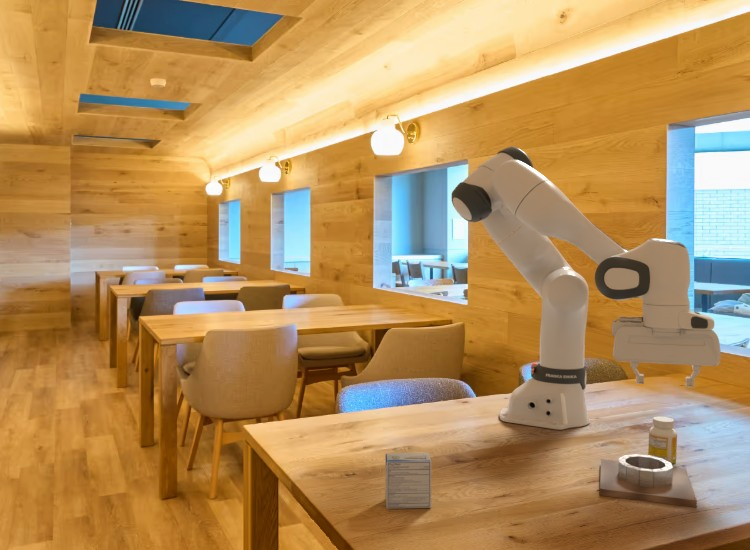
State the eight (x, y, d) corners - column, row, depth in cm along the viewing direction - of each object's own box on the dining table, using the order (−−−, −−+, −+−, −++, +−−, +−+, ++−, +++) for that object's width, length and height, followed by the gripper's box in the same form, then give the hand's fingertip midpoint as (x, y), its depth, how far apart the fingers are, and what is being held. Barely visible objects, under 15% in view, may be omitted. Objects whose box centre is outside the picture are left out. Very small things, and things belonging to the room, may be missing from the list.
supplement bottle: (656, 469, 134) (657, 422, 134) (643, 460, 140) (644, 415, 139) (681, 468, 135) (682, 422, 134) (667, 459, 140) (668, 415, 139)
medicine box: (428, 499, 119) (429, 451, 119) (431, 509, 115) (432, 460, 114) (385, 499, 119) (385, 452, 118) (386, 509, 114) (386, 460, 114)
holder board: (600, 495, 121) (600, 472, 121) (600, 464, 137) (601, 444, 137) (696, 507, 116) (697, 483, 115) (685, 474, 132) (686, 453, 131)
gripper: (611, 318, 136) (610, 384, 136) (723, 321, 129) (721, 391, 130) (611, 314, 142) (610, 378, 142) (718, 317, 135) (716, 384, 136)
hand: (664, 384), depth 136 cm, fingers open, 8 cm apart
